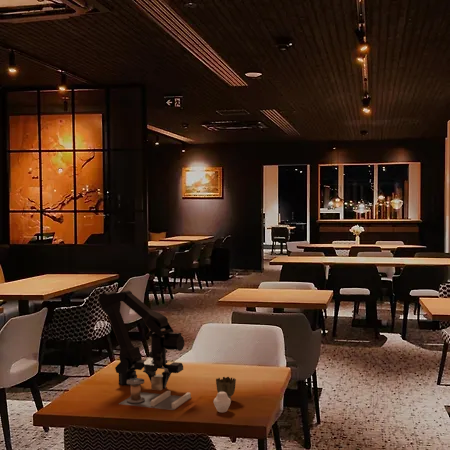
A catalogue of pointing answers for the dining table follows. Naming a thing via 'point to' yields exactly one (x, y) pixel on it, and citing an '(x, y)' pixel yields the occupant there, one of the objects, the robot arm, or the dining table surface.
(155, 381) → the block
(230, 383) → the cup
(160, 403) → the board
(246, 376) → the dining table surface
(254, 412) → the dining table surface
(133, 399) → the bobbin
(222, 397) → the muffin
